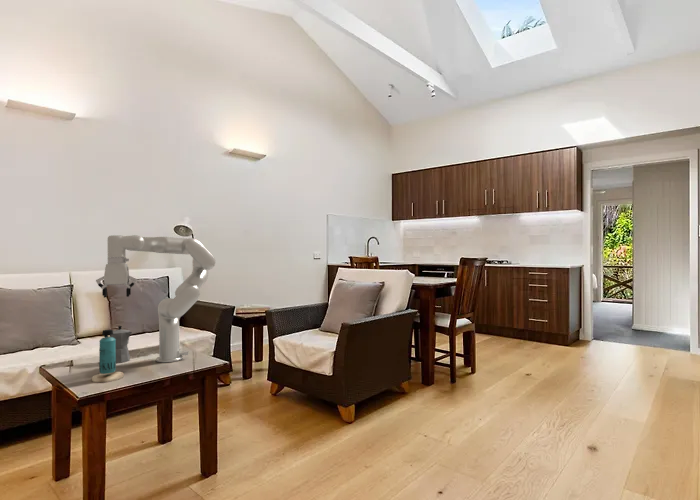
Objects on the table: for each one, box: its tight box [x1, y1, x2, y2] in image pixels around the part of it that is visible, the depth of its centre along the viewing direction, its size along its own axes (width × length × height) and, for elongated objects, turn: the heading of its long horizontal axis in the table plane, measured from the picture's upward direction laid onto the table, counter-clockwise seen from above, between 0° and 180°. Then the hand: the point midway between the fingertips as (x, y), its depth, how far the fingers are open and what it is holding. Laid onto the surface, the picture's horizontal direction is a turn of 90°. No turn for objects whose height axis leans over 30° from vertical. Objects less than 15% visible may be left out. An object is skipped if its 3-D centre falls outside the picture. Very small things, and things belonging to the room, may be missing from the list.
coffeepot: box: [103, 325, 133, 364], centre depth 212 cm, size 15×9×18 cm, turn 82°
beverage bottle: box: [98, 329, 117, 374], centre depth 182 cm, size 6×7×20 cm
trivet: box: [91, 371, 125, 384], centre depth 182 cm, size 12×12×1 cm
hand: (116, 296), depth 198 cm, fingers open, 9 cm apart
